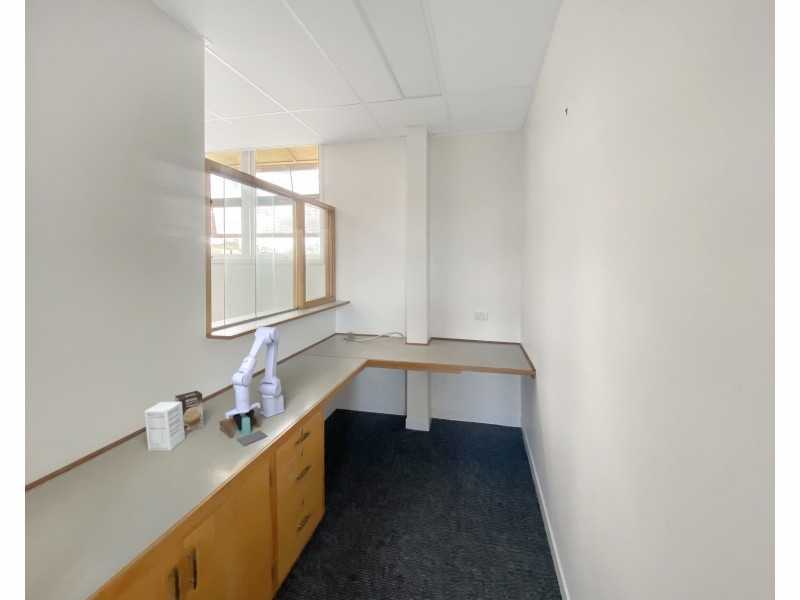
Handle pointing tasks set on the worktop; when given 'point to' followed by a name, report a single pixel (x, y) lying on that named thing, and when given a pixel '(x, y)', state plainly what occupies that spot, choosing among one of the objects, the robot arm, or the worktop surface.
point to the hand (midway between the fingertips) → (244, 427)
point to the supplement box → (164, 426)
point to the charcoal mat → (252, 438)
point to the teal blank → (245, 425)
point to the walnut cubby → (231, 422)
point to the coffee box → (191, 410)
